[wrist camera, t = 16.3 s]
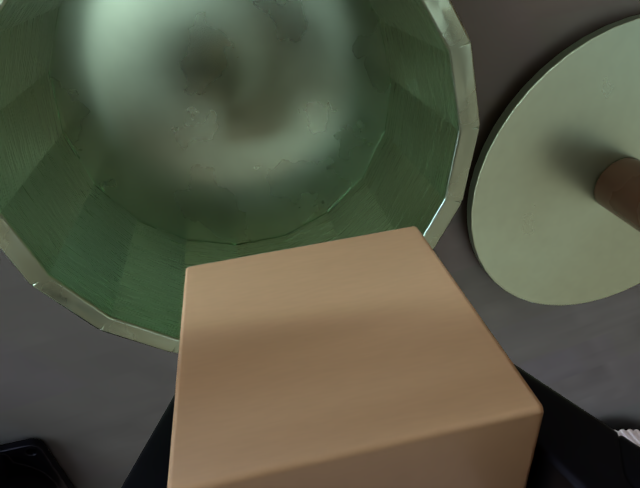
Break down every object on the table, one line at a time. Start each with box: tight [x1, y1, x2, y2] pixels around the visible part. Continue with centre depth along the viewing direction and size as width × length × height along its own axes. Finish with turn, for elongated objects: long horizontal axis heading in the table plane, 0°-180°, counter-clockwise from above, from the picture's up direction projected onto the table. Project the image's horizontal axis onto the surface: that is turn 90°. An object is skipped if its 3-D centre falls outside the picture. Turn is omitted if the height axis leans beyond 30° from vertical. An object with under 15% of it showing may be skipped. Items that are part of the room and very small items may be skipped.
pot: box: [0, 0, 480, 353], centre depth 15 cm, size 13×13×6 cm
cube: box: [167, 226, 544, 488], centre depth 8 cm, size 4×4×4 cm
